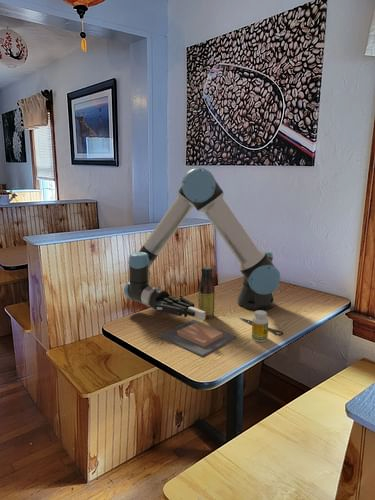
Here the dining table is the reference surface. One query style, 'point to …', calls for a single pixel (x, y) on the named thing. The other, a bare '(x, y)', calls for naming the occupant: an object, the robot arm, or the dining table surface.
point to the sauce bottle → (206, 293)
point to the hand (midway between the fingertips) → (203, 316)
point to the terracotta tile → (200, 334)
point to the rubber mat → (193, 347)
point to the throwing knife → (268, 327)
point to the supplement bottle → (260, 326)
